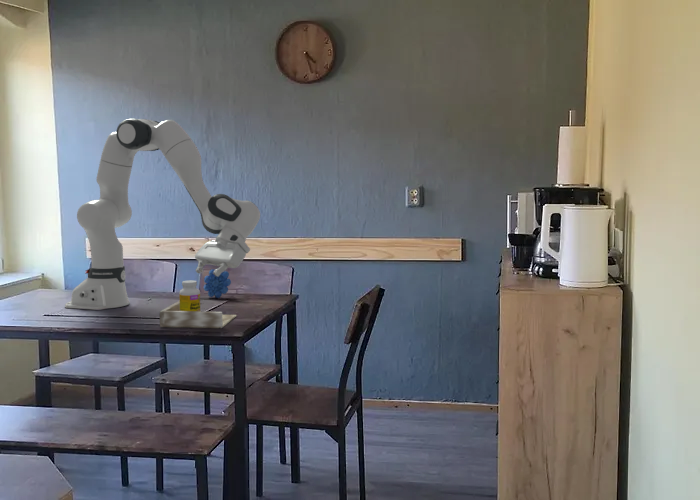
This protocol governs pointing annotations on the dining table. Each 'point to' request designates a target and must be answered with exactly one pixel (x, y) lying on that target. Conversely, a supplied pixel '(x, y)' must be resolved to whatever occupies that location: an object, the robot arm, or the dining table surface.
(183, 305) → the supplement bottle
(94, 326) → the dining table surface
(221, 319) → the tray
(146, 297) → the dining table surface
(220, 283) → the blue flower shape
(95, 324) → the dining table surface
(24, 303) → the dining table surface
